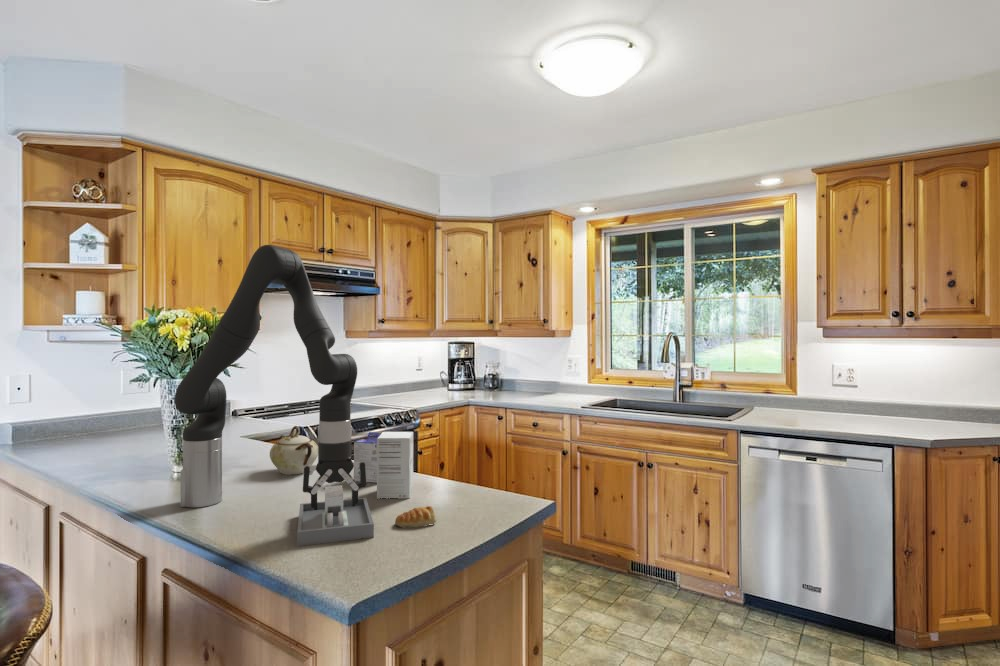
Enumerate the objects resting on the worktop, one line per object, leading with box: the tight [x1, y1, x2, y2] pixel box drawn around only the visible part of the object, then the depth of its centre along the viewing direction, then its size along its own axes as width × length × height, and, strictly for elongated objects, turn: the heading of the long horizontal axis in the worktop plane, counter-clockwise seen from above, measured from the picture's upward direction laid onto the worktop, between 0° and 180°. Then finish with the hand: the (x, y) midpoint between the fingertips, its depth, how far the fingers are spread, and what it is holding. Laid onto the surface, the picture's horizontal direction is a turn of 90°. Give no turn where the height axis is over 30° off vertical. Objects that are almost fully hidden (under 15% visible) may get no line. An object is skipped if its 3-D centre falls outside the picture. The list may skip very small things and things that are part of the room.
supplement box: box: [376, 431, 414, 500], centre depth 153 cm, size 10×9×17 cm
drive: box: [324, 484, 344, 526], centre depth 127 cm, size 4×9×6 cm, turn 18°
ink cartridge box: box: [353, 431, 380, 484], centre depth 166 cm, size 10×6×14 cm, turn 78°
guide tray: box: [296, 497, 375, 547], centre depth 128 cm, size 16×20×5 cm
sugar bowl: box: [269, 425, 318, 476], centre depth 176 cm, size 20×15×15 cm
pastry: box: [394, 505, 437, 528], centre depth 130 cm, size 9×7×4 cm
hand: (334, 507), depth 128 cm, fingers open, 8 cm apart
